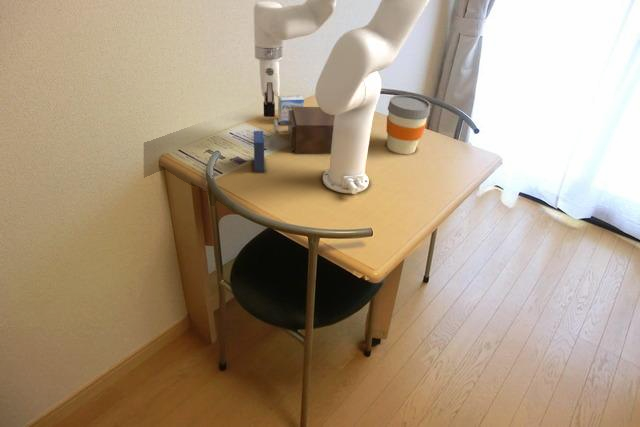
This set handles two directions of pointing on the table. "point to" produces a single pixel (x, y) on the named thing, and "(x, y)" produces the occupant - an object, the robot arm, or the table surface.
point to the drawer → (290, 131)
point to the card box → (258, 151)
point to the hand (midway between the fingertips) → (269, 115)
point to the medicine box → (288, 106)
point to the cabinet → (313, 130)
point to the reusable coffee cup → (406, 122)
